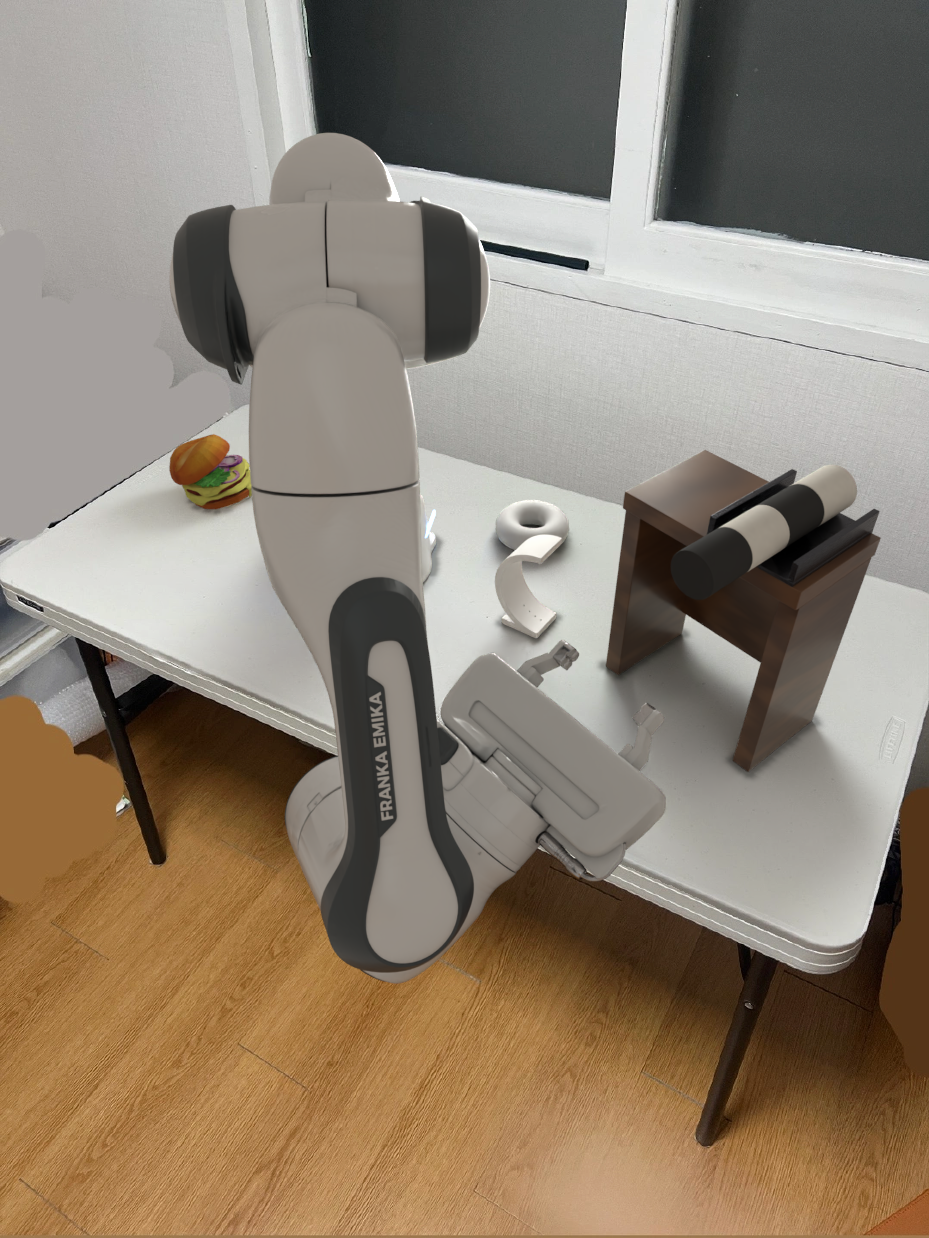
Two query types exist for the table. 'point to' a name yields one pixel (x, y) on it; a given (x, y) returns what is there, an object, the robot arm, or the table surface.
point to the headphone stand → (524, 587)
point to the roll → (762, 531)
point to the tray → (809, 548)
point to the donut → (530, 522)
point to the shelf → (731, 600)
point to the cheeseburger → (210, 472)
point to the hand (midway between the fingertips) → (612, 676)
